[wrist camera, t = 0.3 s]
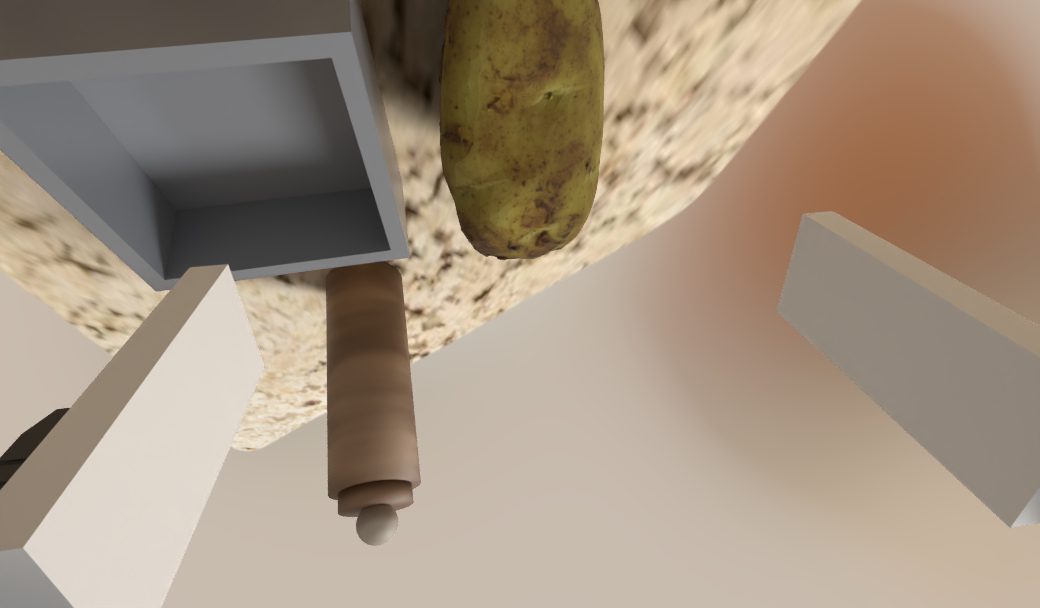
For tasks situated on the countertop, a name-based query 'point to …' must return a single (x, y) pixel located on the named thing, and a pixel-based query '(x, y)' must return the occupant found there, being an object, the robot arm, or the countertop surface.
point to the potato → (522, 121)
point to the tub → (206, 131)
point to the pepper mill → (369, 399)
